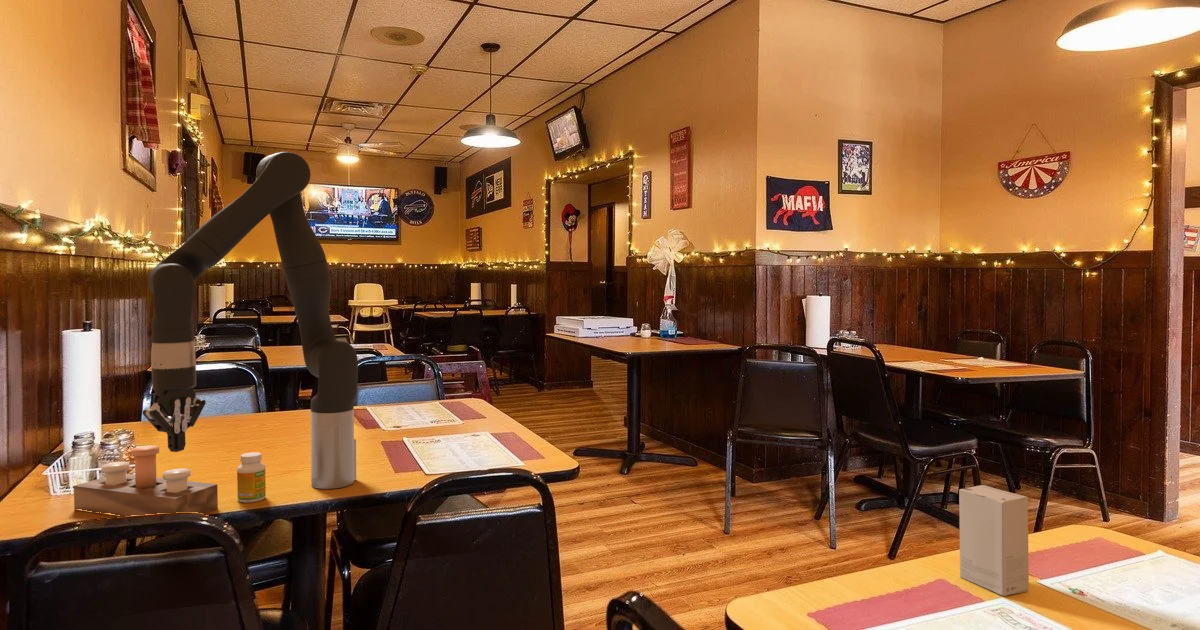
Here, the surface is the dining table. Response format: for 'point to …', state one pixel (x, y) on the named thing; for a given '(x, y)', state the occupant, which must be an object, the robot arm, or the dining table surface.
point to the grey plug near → (176, 479)
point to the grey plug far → (115, 472)
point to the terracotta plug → (145, 466)
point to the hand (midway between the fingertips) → (177, 450)
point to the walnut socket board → (144, 498)
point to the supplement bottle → (251, 478)
